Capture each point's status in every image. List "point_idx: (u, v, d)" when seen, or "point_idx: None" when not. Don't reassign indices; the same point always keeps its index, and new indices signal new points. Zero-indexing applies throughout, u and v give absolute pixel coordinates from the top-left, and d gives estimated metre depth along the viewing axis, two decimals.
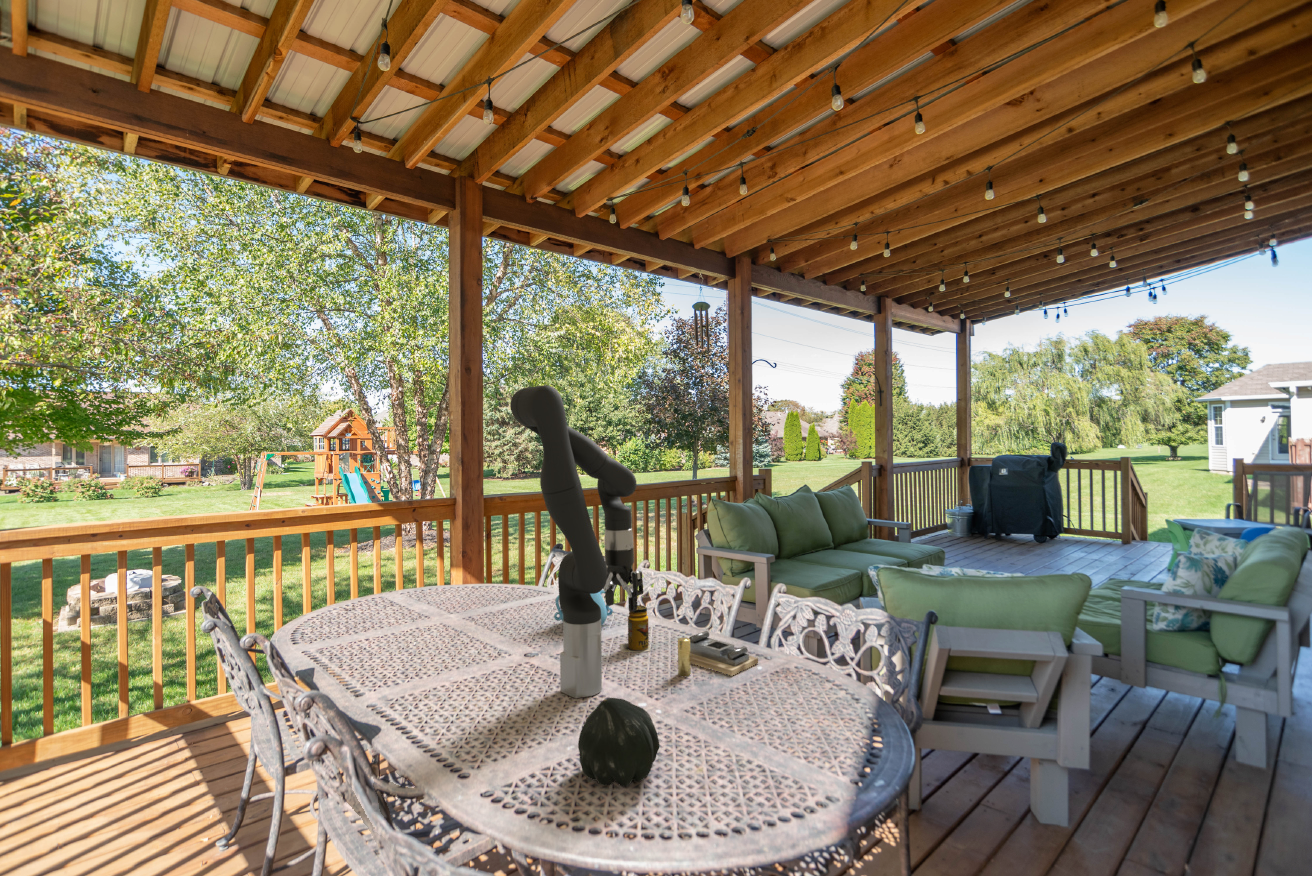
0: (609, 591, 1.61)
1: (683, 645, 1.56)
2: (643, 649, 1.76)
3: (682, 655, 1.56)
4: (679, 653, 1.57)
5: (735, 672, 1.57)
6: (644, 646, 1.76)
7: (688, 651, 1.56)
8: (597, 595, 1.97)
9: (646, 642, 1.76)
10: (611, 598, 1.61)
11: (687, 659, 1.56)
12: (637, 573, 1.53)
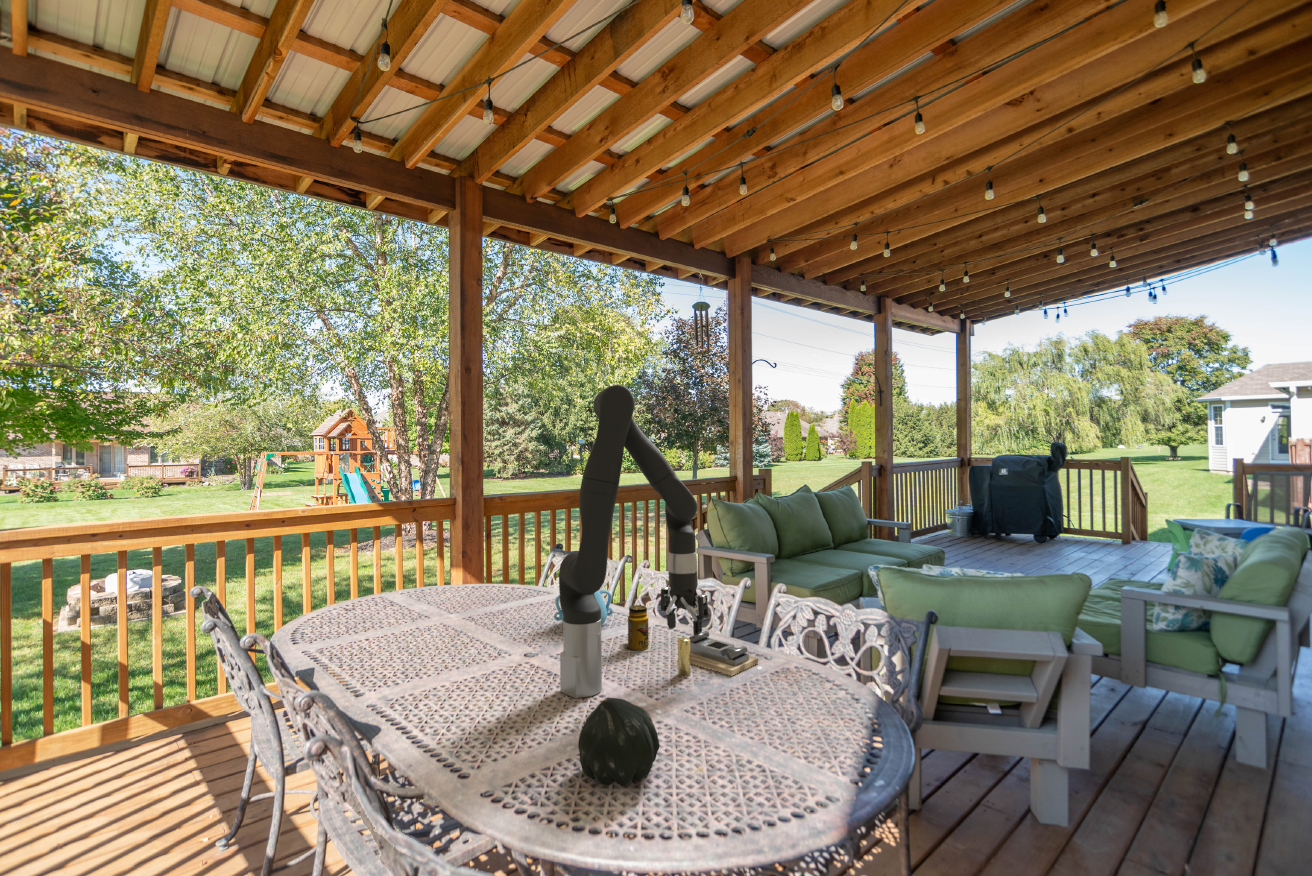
0: (671, 614, 1.60)
1: (683, 645, 1.56)
2: (643, 649, 1.76)
3: (682, 655, 1.56)
4: (679, 653, 1.57)
5: (735, 672, 1.57)
6: (644, 646, 1.76)
7: (688, 651, 1.56)
8: (597, 595, 1.97)
9: (646, 642, 1.76)
10: (673, 621, 1.61)
11: (687, 659, 1.56)
12: (703, 597, 1.53)
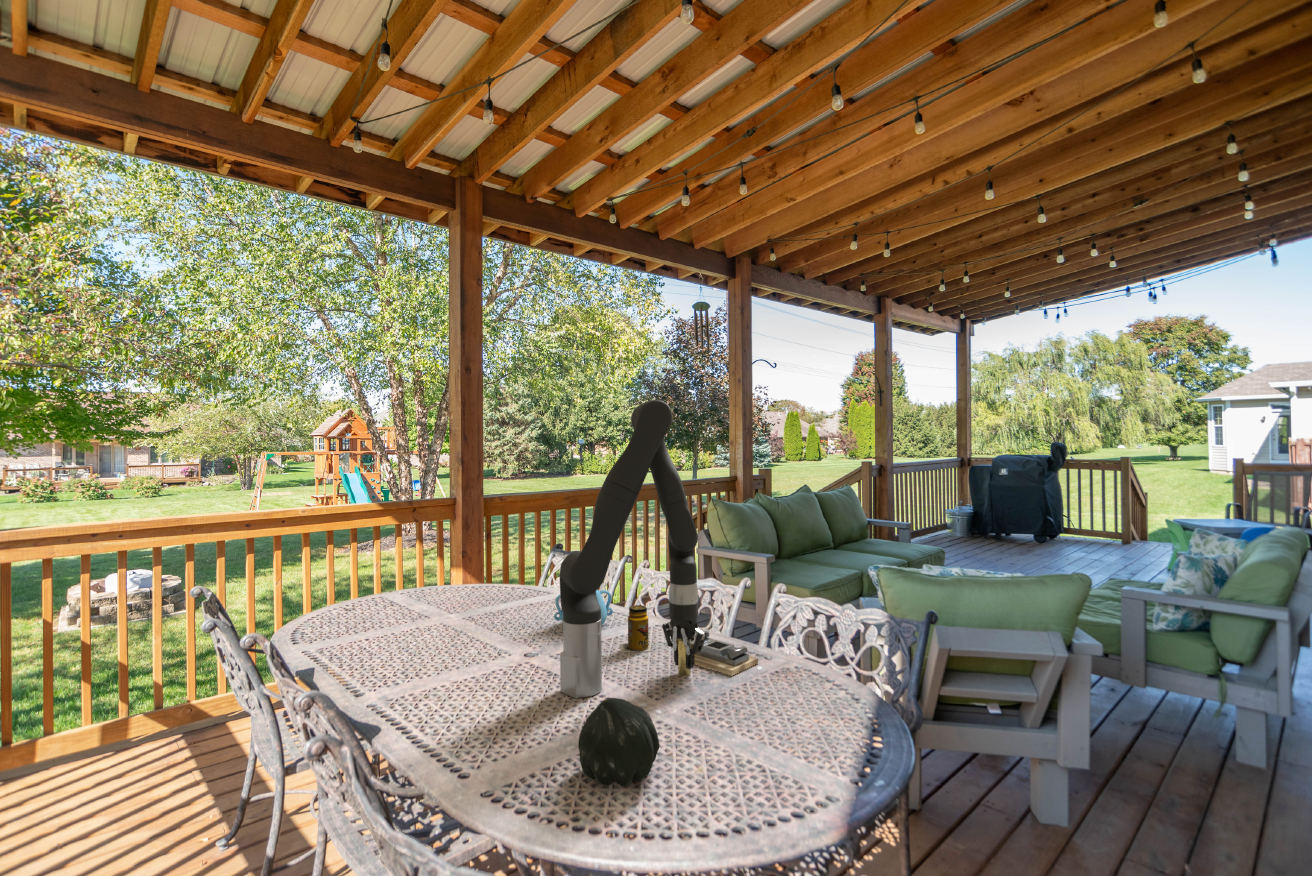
0: None
1: (683, 645, 1.56)
2: (643, 649, 1.76)
3: (682, 655, 1.56)
4: (679, 653, 1.57)
5: (735, 672, 1.57)
6: (644, 646, 1.76)
7: None
8: (597, 595, 1.97)
9: (646, 642, 1.76)
10: None
11: None
12: (702, 635, 1.53)
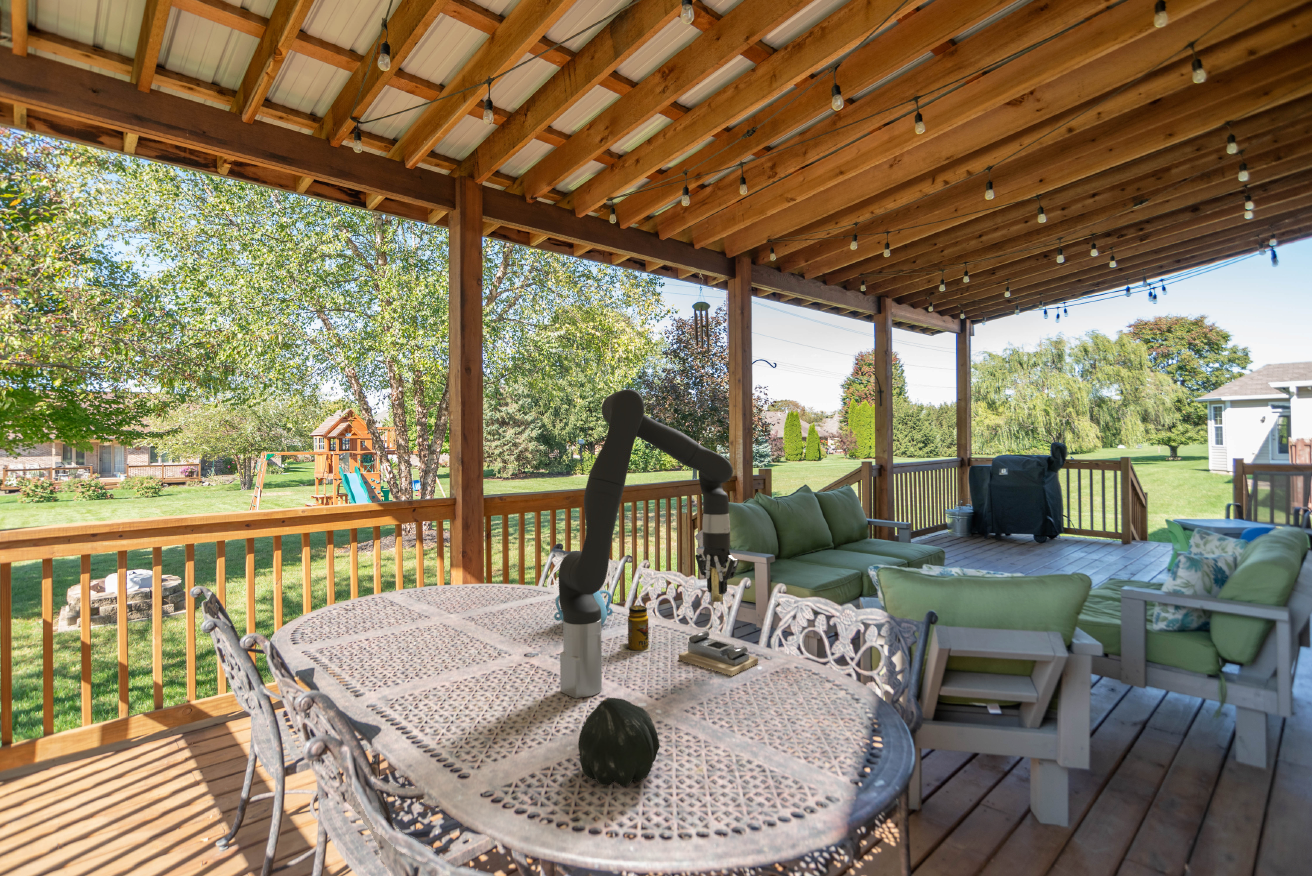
0: None
1: (716, 572, 1.65)
2: (643, 649, 1.76)
3: (716, 581, 1.65)
4: (712, 580, 1.66)
5: (735, 672, 1.57)
6: (644, 646, 1.76)
7: None
8: (597, 595, 1.97)
9: (646, 642, 1.76)
10: None
11: None
12: (735, 561, 1.62)
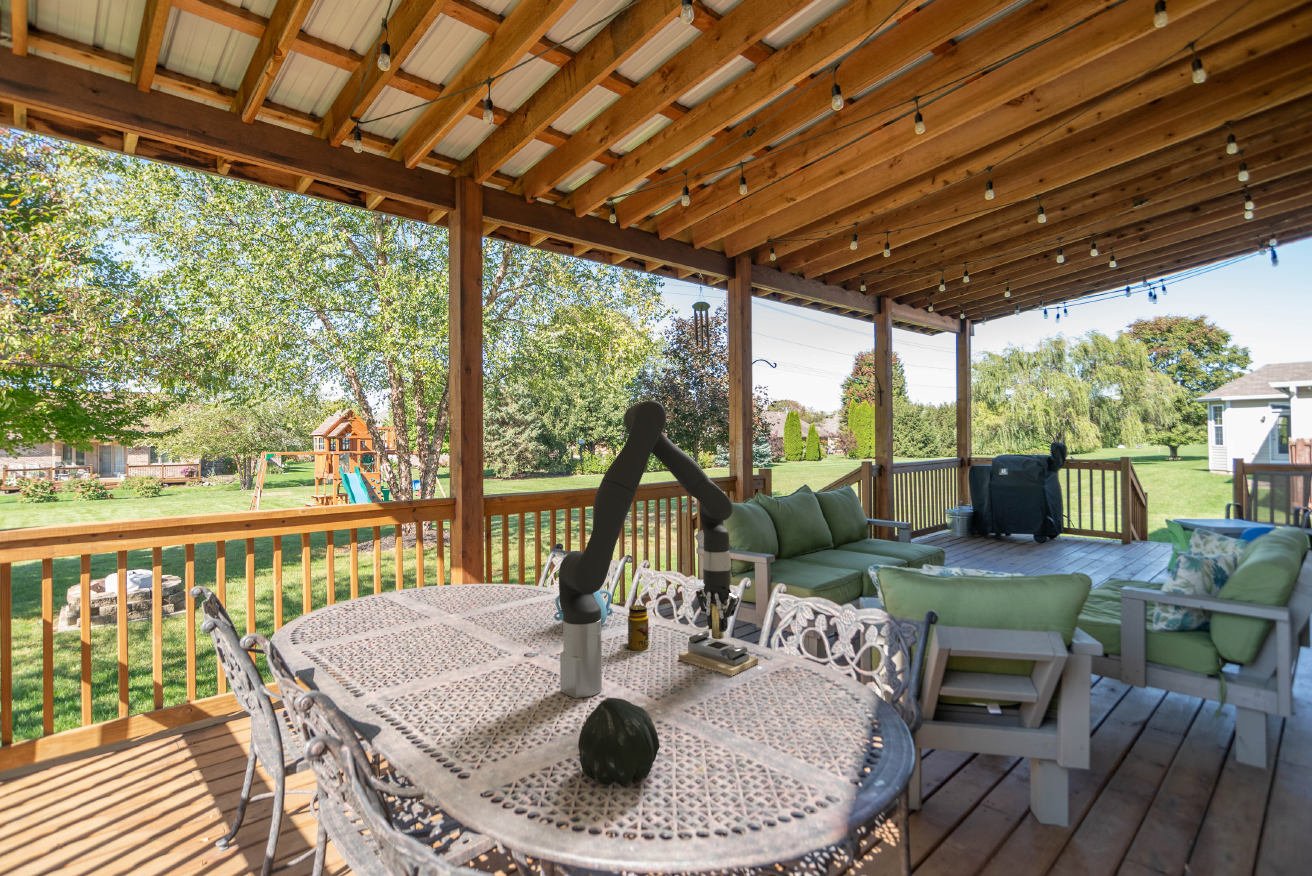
0: (711, 615, 1.67)
1: (717, 609, 1.65)
2: (643, 649, 1.76)
3: (716, 618, 1.65)
4: (713, 617, 1.66)
5: (735, 672, 1.57)
6: (644, 646, 1.76)
7: None
8: (597, 595, 1.97)
9: (646, 642, 1.76)
10: None
11: None
12: (736, 599, 1.62)
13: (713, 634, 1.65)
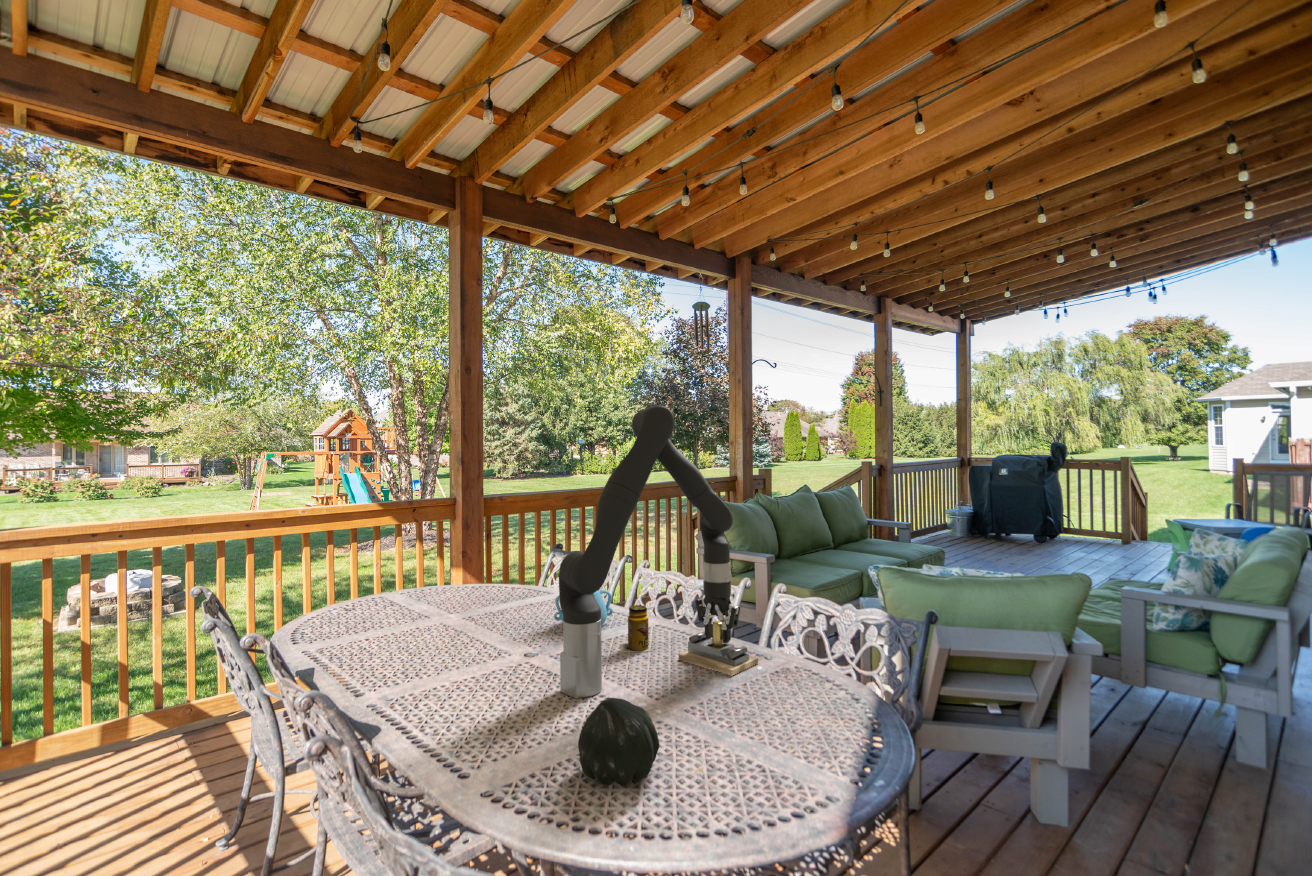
0: (709, 624, 1.68)
1: (718, 628, 1.65)
2: (643, 649, 1.76)
3: (717, 637, 1.65)
4: (713, 635, 1.66)
5: (735, 672, 1.57)
6: (644, 646, 1.76)
7: (722, 633, 1.65)
8: (597, 595, 1.97)
9: (646, 642, 1.76)
10: (710, 631, 1.68)
11: (721, 641, 1.65)
12: (736, 609, 1.62)
13: None
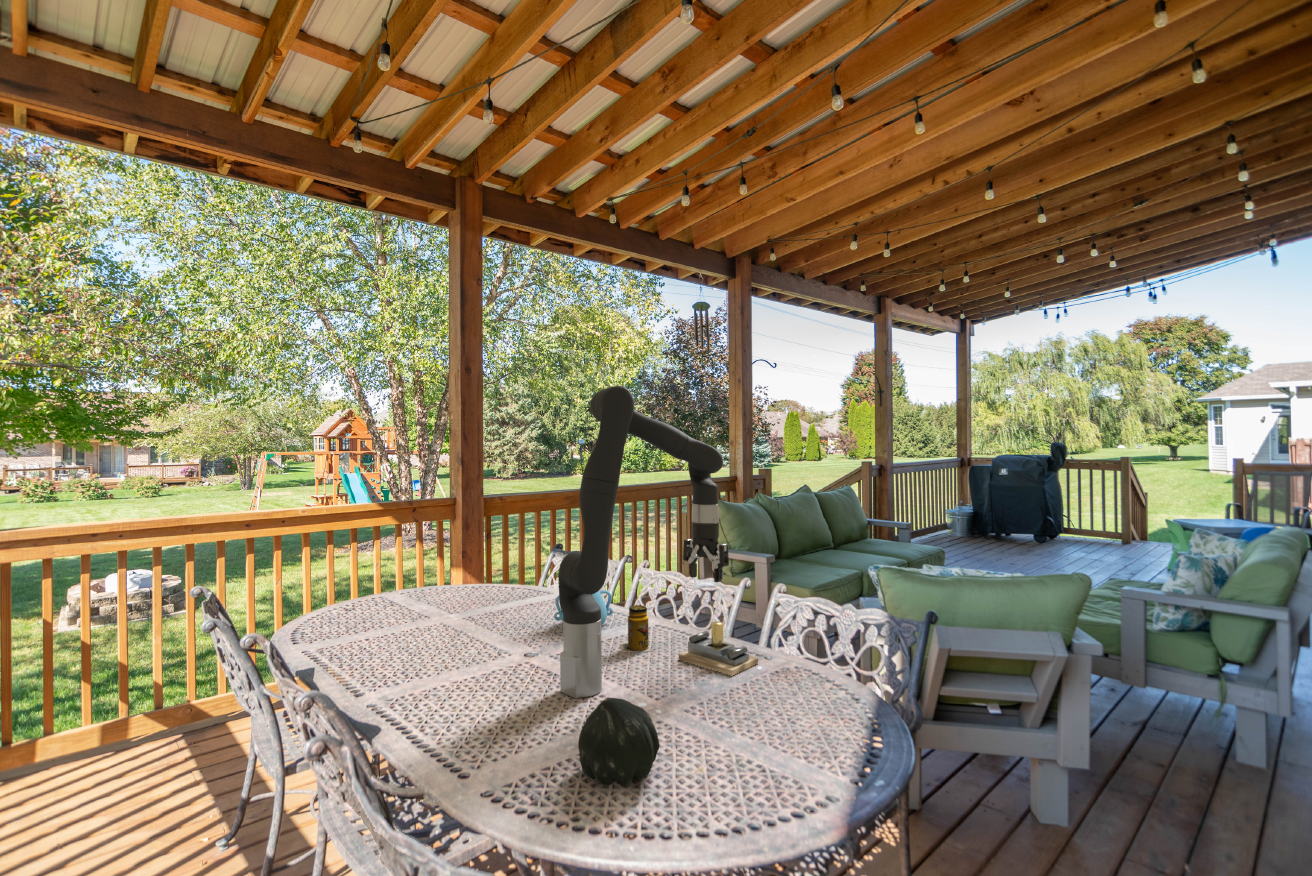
0: (693, 563, 1.70)
1: (716, 628, 1.65)
2: (643, 649, 1.76)
3: (716, 637, 1.65)
4: (713, 636, 1.65)
5: (735, 672, 1.57)
6: (644, 646, 1.76)
7: (721, 634, 1.65)
8: (597, 595, 1.97)
9: (646, 642, 1.76)
10: (695, 570, 1.70)
11: (720, 641, 1.65)
12: (724, 545, 1.62)
13: None
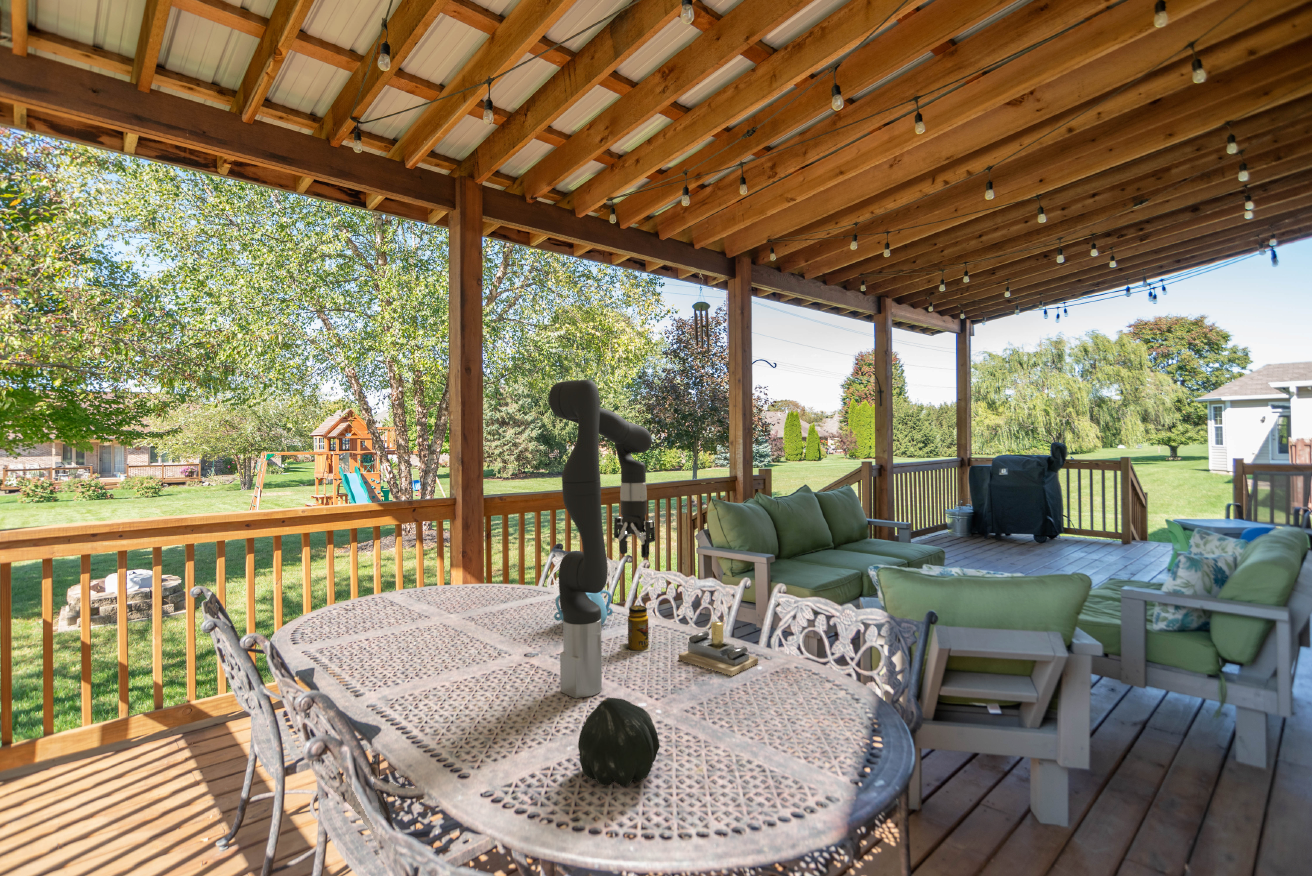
0: (623, 540, 1.75)
1: (716, 628, 1.65)
2: (643, 649, 1.76)
3: (716, 637, 1.65)
4: (713, 636, 1.65)
5: (735, 672, 1.57)
6: (644, 646, 1.76)
7: (721, 634, 1.65)
8: (597, 595, 1.97)
9: (646, 642, 1.76)
10: (625, 547, 1.76)
11: (720, 641, 1.65)
12: (650, 522, 1.68)
13: None
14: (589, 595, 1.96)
